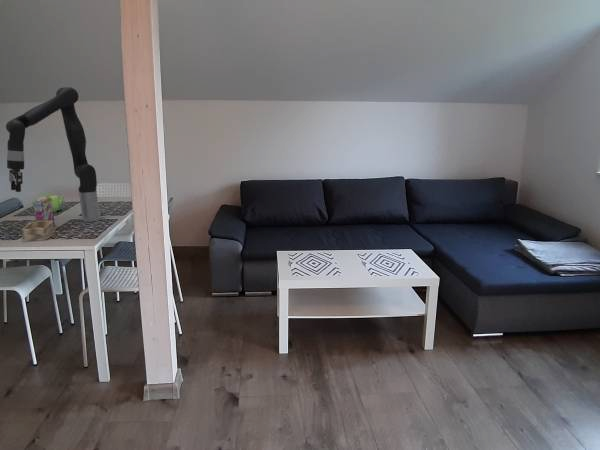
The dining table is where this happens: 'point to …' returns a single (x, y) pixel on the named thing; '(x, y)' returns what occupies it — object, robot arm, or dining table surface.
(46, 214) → the candy bar box
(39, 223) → the crate
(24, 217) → the dining table surface
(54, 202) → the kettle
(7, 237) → the dining table surface
